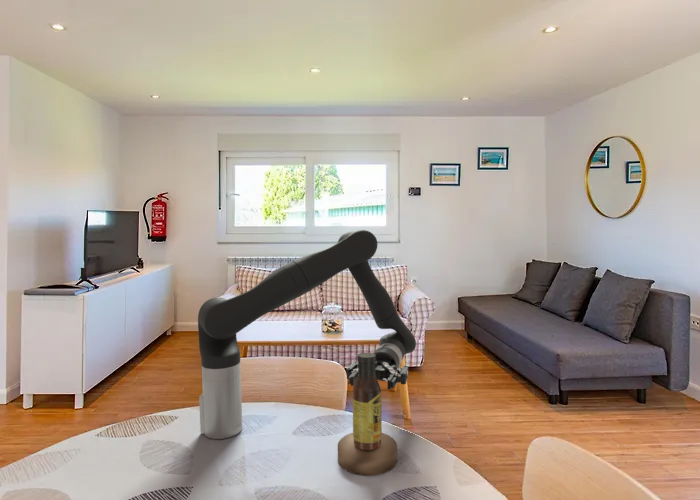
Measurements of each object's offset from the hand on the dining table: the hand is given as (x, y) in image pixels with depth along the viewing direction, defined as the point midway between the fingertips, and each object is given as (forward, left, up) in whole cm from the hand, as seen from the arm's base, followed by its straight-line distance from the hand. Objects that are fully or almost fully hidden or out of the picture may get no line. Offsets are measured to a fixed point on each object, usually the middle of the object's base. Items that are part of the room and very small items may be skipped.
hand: (370, 383), depth 96 cm
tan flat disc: (0, -3, -15) cm, 16 cm away
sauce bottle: (0, -3, -13) cm, 13 cm away
